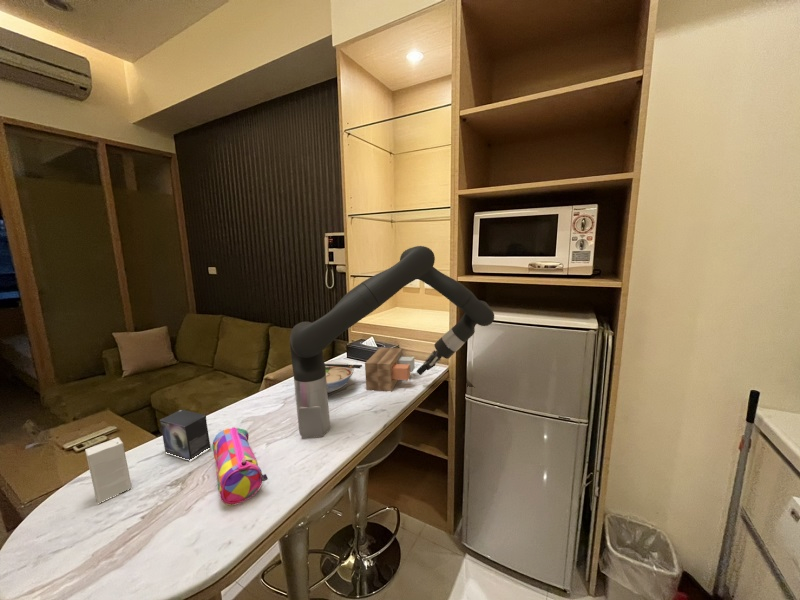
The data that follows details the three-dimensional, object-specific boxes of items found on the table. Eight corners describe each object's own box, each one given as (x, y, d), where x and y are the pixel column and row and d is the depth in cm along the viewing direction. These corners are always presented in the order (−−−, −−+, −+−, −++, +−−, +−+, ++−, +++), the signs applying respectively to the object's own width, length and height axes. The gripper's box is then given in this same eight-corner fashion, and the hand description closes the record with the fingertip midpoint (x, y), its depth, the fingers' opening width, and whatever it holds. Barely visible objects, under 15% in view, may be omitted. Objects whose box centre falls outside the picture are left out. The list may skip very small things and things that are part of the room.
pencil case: (270, 494, 71) (266, 457, 70) (223, 516, 65) (218, 476, 64) (249, 448, 88) (246, 418, 87) (211, 463, 83) (206, 431, 81)
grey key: (396, 371, 132) (395, 359, 131) (399, 367, 136) (398, 355, 136) (412, 372, 130) (411, 360, 129) (414, 367, 135) (414, 356, 134)
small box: (163, 455, 87) (157, 419, 85) (186, 441, 93) (181, 408, 91) (189, 463, 83) (183, 426, 81) (212, 448, 89) (207, 413, 87)
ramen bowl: (281, 399, 118) (278, 378, 116) (314, 376, 139) (313, 358, 138) (341, 406, 110) (339, 384, 109) (366, 380, 132) (365, 362, 131)
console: (366, 390, 123) (364, 363, 121) (381, 371, 142) (380, 347, 140) (391, 391, 120) (389, 364, 119) (402, 372, 140) (401, 348, 138)
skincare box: (128, 481, 77) (119, 436, 75) (132, 489, 74) (123, 442, 72) (94, 496, 72) (84, 448, 70) (97, 505, 70) (87, 456, 68)
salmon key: (390, 379, 123) (390, 367, 122) (394, 374, 128) (393, 363, 127) (407, 380, 121) (407, 368, 121) (410, 375, 126) (409, 363, 125)
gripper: (444, 331, 124) (414, 360, 129) (440, 341, 112) (408, 372, 116) (458, 345, 124) (428, 373, 128) (455, 356, 111) (422, 386, 116)
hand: (418, 372), depth 122 cm, fingers closed
